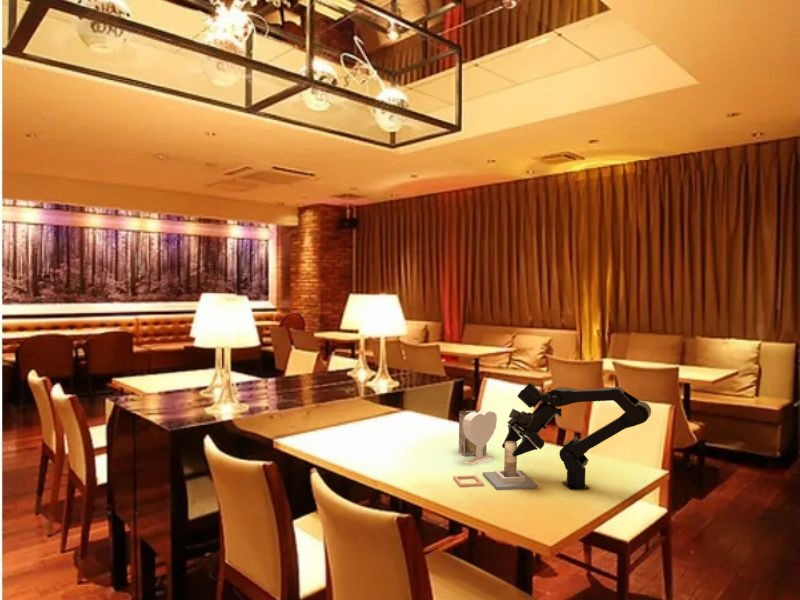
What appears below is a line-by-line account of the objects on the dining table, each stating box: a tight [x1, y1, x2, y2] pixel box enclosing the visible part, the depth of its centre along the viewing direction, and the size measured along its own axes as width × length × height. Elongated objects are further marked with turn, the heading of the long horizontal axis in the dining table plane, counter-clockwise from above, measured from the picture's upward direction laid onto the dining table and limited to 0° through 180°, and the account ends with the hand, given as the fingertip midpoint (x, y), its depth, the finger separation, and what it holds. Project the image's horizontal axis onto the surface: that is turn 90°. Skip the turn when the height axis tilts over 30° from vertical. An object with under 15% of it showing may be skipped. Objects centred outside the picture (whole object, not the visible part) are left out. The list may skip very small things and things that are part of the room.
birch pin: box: [503, 441, 518, 477], centre depth 191 cm, size 4×4×12 cm
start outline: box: [452, 474, 485, 488], centre depth 189 cm, size 8×8×1 cm
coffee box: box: [458, 409, 487, 457], centre depth 221 cm, size 9×6×16 cm
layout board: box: [482, 469, 539, 491], centre depth 191 cm, size 14×14×2 cm
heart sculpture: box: [463, 409, 498, 465], centre depth 212 cm, size 16×5×18 cm, turn 134°
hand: (507, 451), depth 190 cm, fingers open, 9 cm apart
